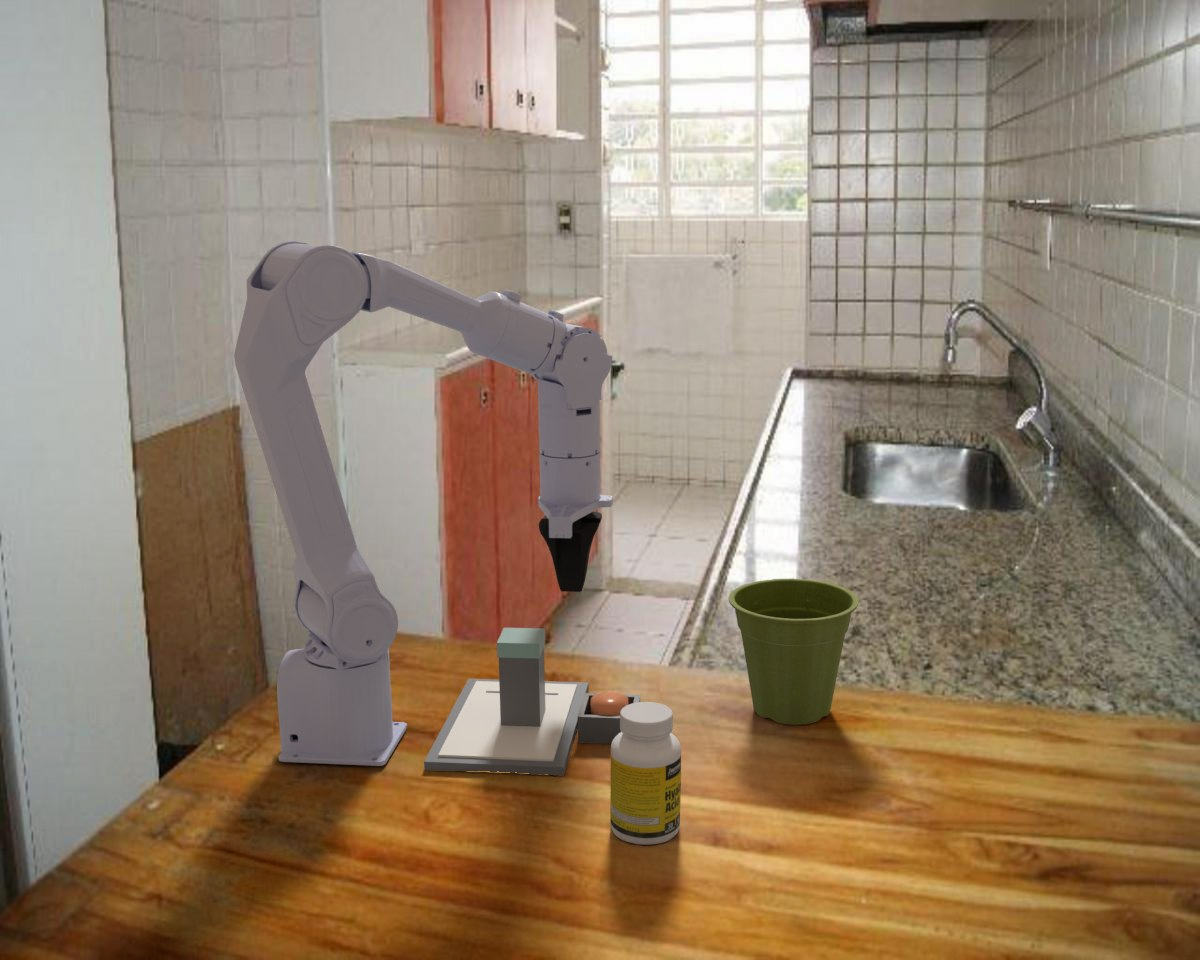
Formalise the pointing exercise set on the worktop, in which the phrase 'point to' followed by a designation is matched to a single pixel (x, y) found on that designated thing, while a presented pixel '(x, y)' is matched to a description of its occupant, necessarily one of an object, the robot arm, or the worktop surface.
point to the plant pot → (792, 644)
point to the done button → (608, 703)
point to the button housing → (598, 722)
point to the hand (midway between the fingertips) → (571, 589)
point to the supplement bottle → (645, 775)
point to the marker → (521, 676)
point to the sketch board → (507, 732)
